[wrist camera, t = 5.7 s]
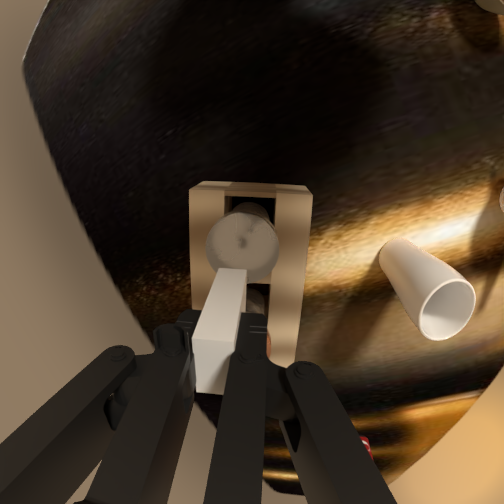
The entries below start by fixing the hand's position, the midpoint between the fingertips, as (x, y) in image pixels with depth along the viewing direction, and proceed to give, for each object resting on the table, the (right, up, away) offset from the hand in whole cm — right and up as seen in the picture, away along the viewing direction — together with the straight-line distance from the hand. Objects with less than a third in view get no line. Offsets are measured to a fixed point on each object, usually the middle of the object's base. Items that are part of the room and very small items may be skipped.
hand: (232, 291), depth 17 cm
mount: (+1, -1, +23) cm, 24 cm away
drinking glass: (+20, +2, +22) cm, 29 cm away
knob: (+1, +5, +14) cm, 15 cm away
